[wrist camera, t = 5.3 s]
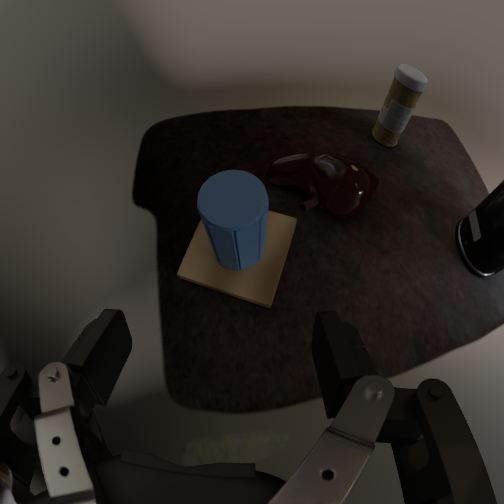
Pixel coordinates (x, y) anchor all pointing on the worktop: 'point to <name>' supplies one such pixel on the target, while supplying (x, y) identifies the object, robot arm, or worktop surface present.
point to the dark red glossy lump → (326, 181)
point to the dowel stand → (243, 281)
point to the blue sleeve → (235, 217)
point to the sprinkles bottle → (399, 104)
